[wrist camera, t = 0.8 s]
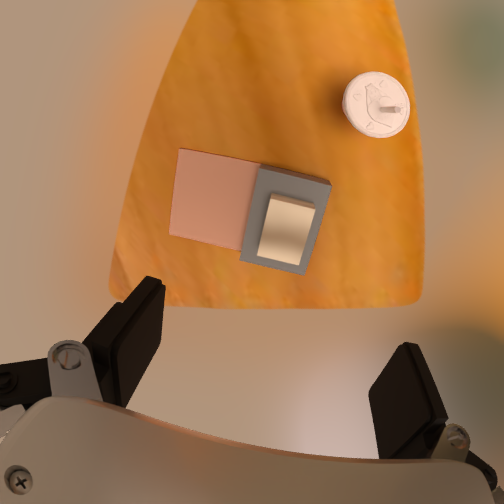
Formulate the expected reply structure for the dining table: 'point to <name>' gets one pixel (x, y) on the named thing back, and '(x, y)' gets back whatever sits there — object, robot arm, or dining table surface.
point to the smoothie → (376, 104)
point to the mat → (212, 198)
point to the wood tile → (286, 229)
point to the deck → (265, 185)
